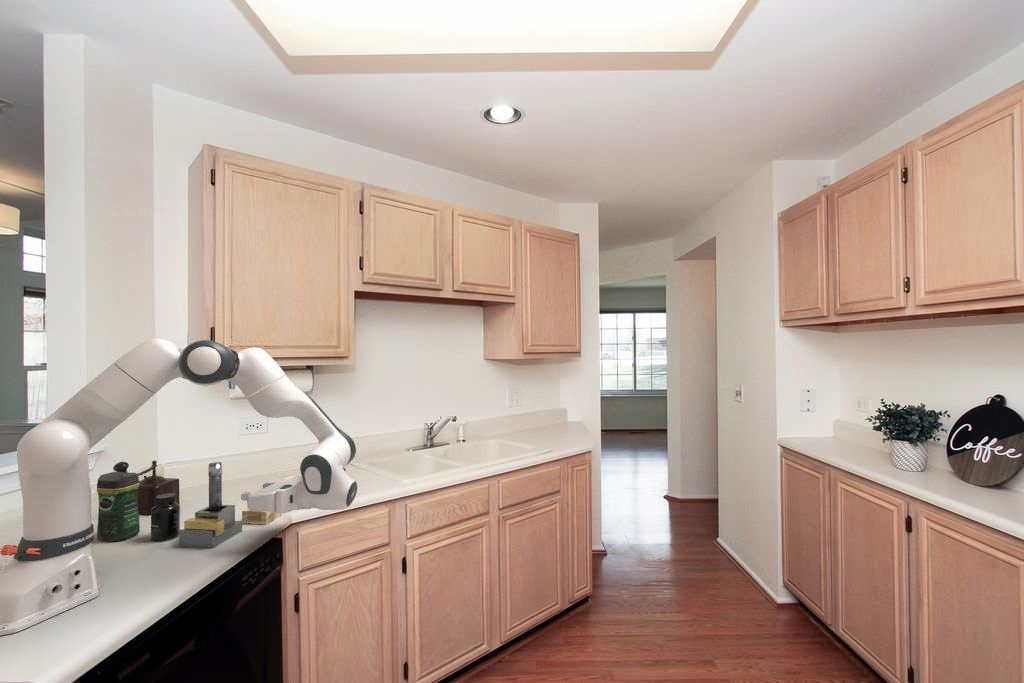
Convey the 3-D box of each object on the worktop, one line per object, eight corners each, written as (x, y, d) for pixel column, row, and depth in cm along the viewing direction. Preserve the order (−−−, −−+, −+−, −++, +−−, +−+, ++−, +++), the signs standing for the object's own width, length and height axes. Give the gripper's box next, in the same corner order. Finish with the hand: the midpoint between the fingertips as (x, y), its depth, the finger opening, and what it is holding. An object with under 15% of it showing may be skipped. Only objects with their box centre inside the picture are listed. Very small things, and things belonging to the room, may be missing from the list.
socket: (212, 548, 132) (212, 518, 132) (178, 546, 134) (178, 517, 134) (242, 531, 144) (241, 504, 144) (211, 529, 146) (210, 503, 146)
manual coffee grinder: (151, 504, 170) (151, 452, 170) (180, 505, 168) (180, 452, 168) (109, 520, 154) (109, 463, 154) (141, 521, 153) (141, 464, 153)
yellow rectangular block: (217, 535, 133) (217, 522, 133) (184, 534, 134) (184, 521, 134) (224, 532, 135) (223, 519, 135) (191, 530, 136) (190, 517, 136)
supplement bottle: (146, 543, 136) (146, 500, 136) (157, 534, 143) (156, 493, 143) (174, 540, 138) (174, 498, 138) (183, 531, 144) (183, 491, 144)
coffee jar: (145, 532, 144) (145, 469, 144) (119, 543, 136) (118, 476, 136) (118, 530, 146) (118, 468, 146) (90, 541, 138) (90, 475, 138)
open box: (266, 524, 149) (266, 511, 149) (242, 523, 150) (241, 510, 150) (281, 515, 157) (281, 503, 157) (258, 514, 158) (258, 502, 158)
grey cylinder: (216, 528, 139) (216, 465, 139) (205, 528, 139) (205, 464, 139) (224, 524, 142) (224, 462, 142) (214, 523, 142) (214, 461, 142)
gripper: (318, 471, 148) (275, 470, 149) (278, 492, 127) (229, 490, 129) (318, 492, 148) (275, 491, 149) (278, 516, 127) (229, 514, 129)
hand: (253, 490), depth 139 cm, fingers open, 8 cm apart
